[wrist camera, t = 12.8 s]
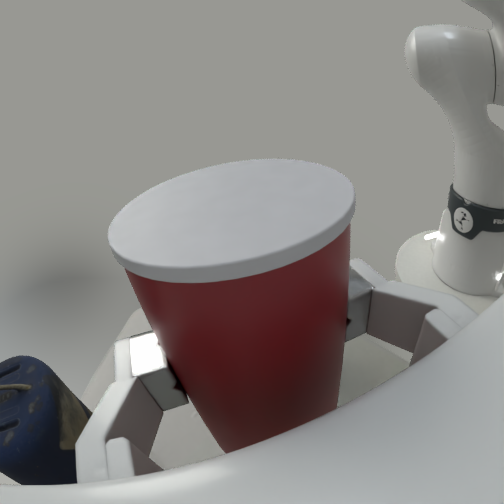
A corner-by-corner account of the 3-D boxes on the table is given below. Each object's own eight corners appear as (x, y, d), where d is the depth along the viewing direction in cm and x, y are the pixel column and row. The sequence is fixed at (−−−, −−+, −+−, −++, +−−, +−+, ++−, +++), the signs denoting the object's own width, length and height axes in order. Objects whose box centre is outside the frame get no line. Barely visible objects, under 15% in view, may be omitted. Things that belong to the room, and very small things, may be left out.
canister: (165, 524, 18) (29, 455, 9) (82, 526, 17) (-60, 446, 7) (151, 443, 26) (53, 327, 17) (79, 452, 25) (-29, 348, 15)
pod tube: (301, 349, 14) (283, 148, 9) (361, 434, 10) (412, 204, 5) (196, 389, 13) (113, 195, 8) (233, 491, 8) (98, 310, 4)
